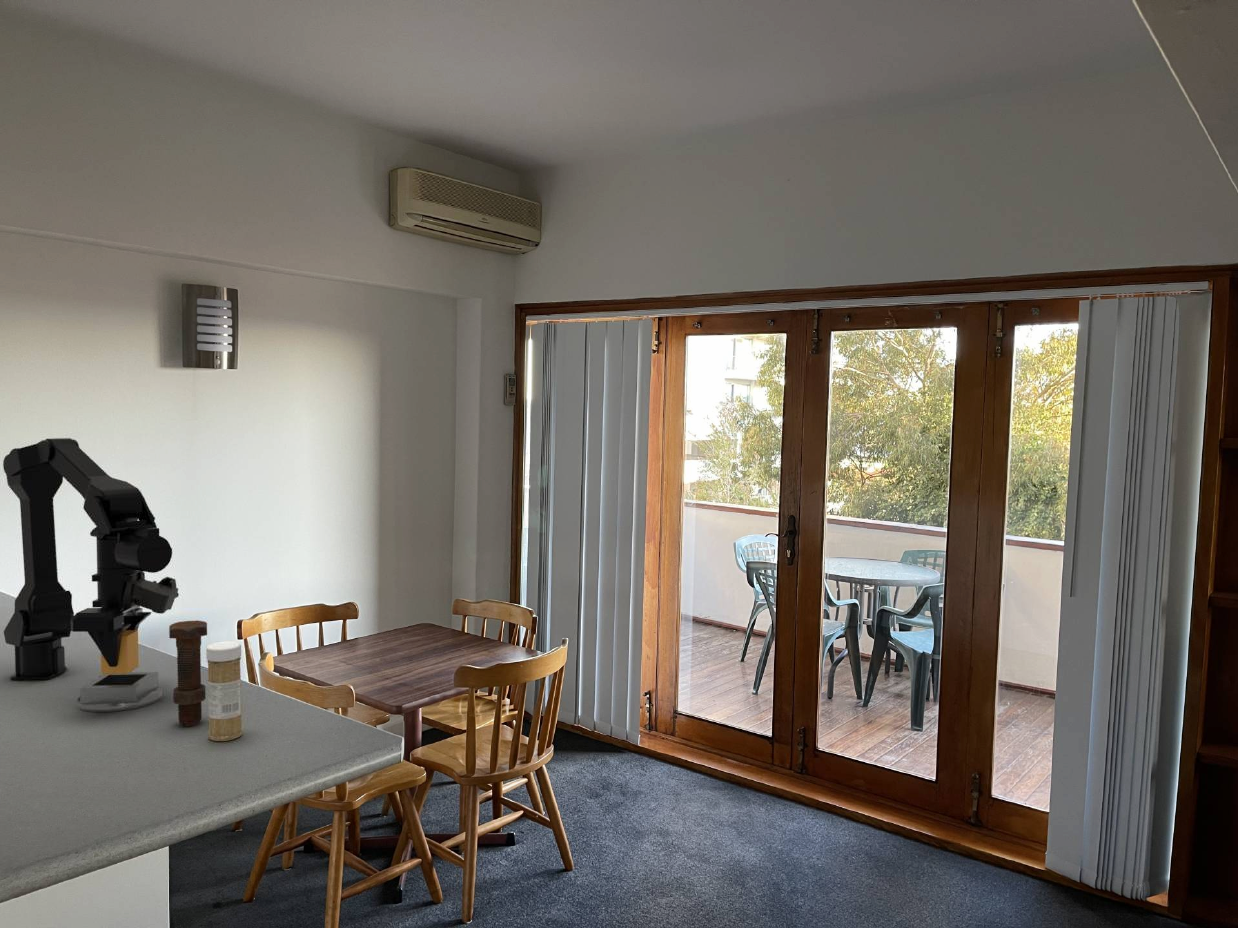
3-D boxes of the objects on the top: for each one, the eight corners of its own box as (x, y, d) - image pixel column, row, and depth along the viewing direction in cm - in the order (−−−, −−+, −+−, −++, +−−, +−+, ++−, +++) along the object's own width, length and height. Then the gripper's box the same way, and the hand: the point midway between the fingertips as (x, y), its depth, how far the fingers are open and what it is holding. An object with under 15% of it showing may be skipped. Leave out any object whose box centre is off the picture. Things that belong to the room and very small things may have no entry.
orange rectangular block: (101, 673, 146) (100, 636, 146) (112, 666, 150) (112, 630, 150) (127, 673, 146) (127, 636, 146) (138, 666, 150) (137, 630, 150)
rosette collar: (62, 712, 142) (61, 691, 142) (99, 689, 154) (98, 669, 154) (144, 711, 143) (143, 690, 143) (174, 688, 155) (173, 668, 155)
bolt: (217, 718, 140) (216, 620, 139) (199, 730, 135) (197, 628, 134) (181, 717, 141) (179, 619, 140) (161, 728, 136) (159, 627, 135)
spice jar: (241, 729, 136) (240, 638, 135) (243, 739, 131) (242, 646, 131) (207, 733, 134) (205, 642, 133) (208, 744, 129) (206, 649, 129)
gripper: (145, 576, 139) (147, 679, 140) (191, 556, 157) (193, 647, 158) (67, 576, 138) (70, 680, 139) (123, 556, 156) (125, 647, 157)
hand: (119, 662), depth 148 cm, fingers closed on orange rectangular block, 4 cm apart
